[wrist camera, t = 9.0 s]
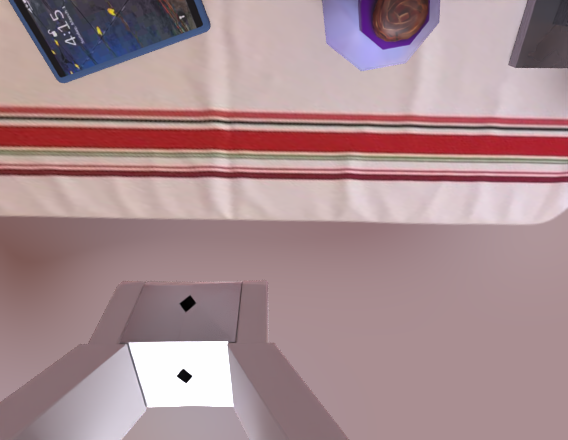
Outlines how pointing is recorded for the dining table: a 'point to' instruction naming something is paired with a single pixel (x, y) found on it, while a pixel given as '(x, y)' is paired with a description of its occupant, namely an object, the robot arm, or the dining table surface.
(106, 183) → the dining table surface
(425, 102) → the dining table surface
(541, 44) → the beam stand
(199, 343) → the robot arm
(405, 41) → the potion bottle
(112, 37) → the smartphone
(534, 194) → the dining table surface
